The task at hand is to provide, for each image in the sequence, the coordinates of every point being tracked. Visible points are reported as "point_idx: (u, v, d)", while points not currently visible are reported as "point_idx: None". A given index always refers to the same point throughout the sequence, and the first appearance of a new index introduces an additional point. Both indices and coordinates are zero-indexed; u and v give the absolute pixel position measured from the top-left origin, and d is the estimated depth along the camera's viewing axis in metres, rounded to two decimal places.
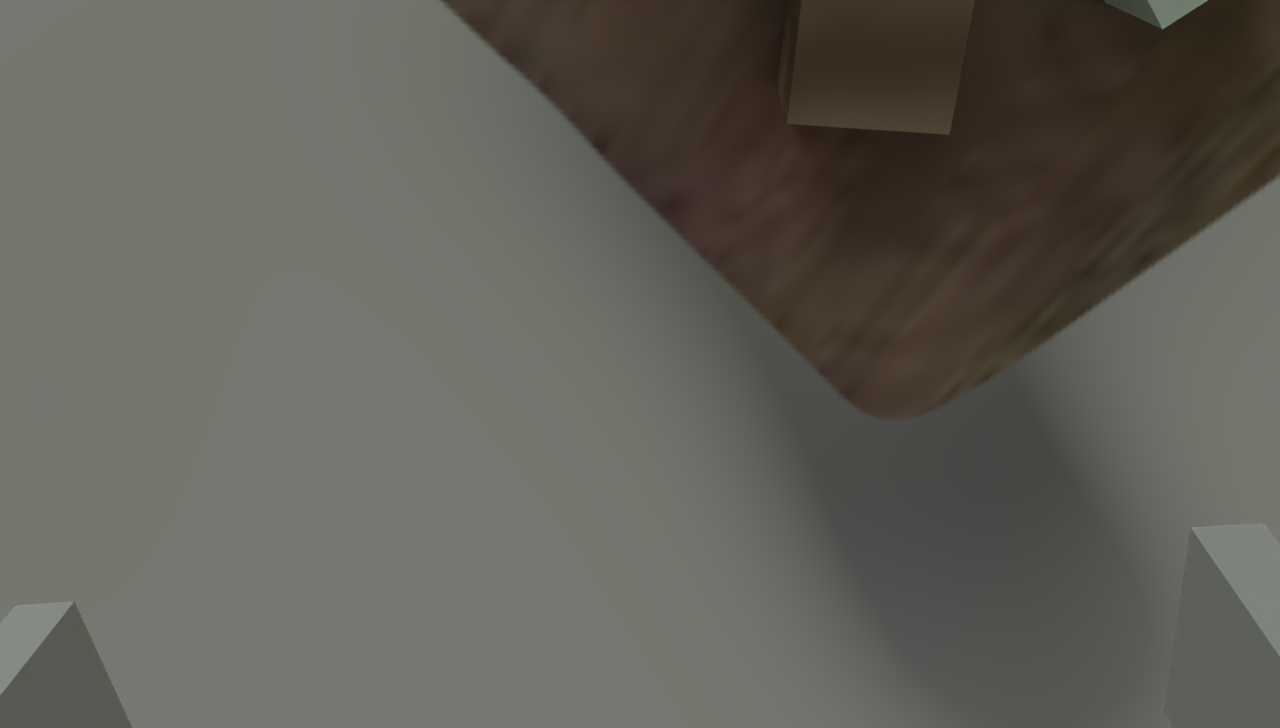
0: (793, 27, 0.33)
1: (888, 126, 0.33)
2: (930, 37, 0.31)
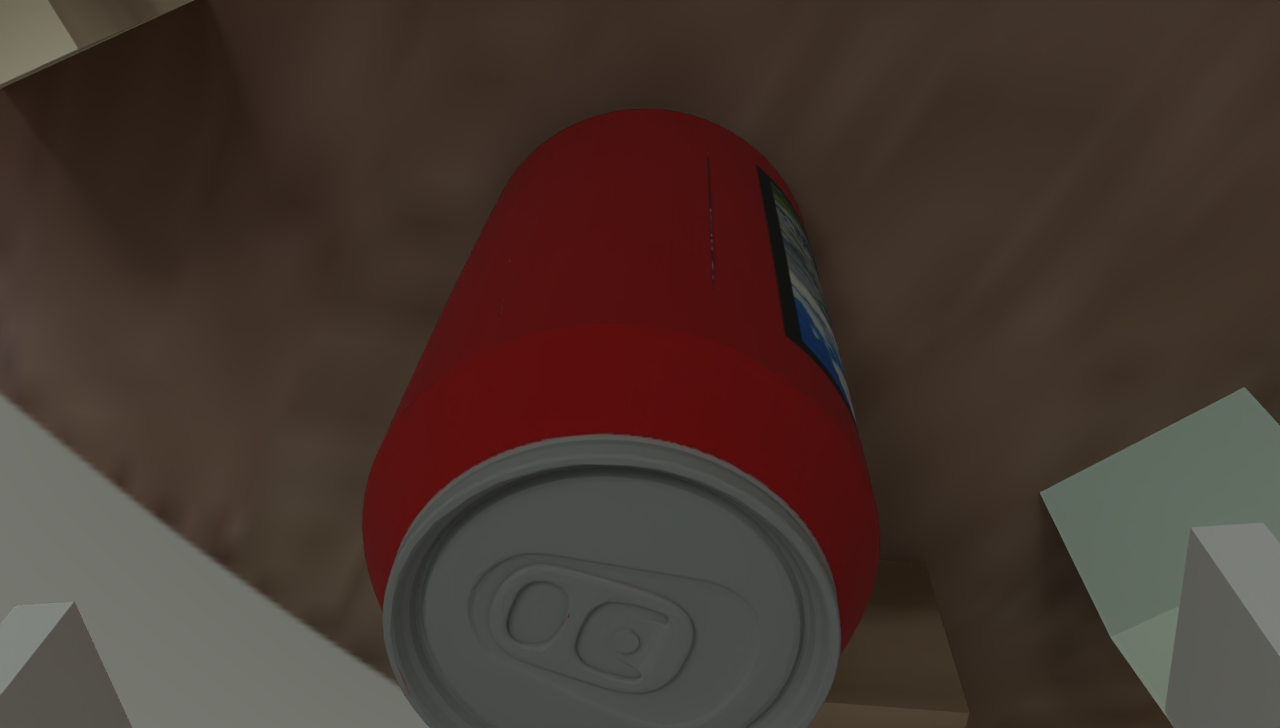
0: None
1: None
2: None
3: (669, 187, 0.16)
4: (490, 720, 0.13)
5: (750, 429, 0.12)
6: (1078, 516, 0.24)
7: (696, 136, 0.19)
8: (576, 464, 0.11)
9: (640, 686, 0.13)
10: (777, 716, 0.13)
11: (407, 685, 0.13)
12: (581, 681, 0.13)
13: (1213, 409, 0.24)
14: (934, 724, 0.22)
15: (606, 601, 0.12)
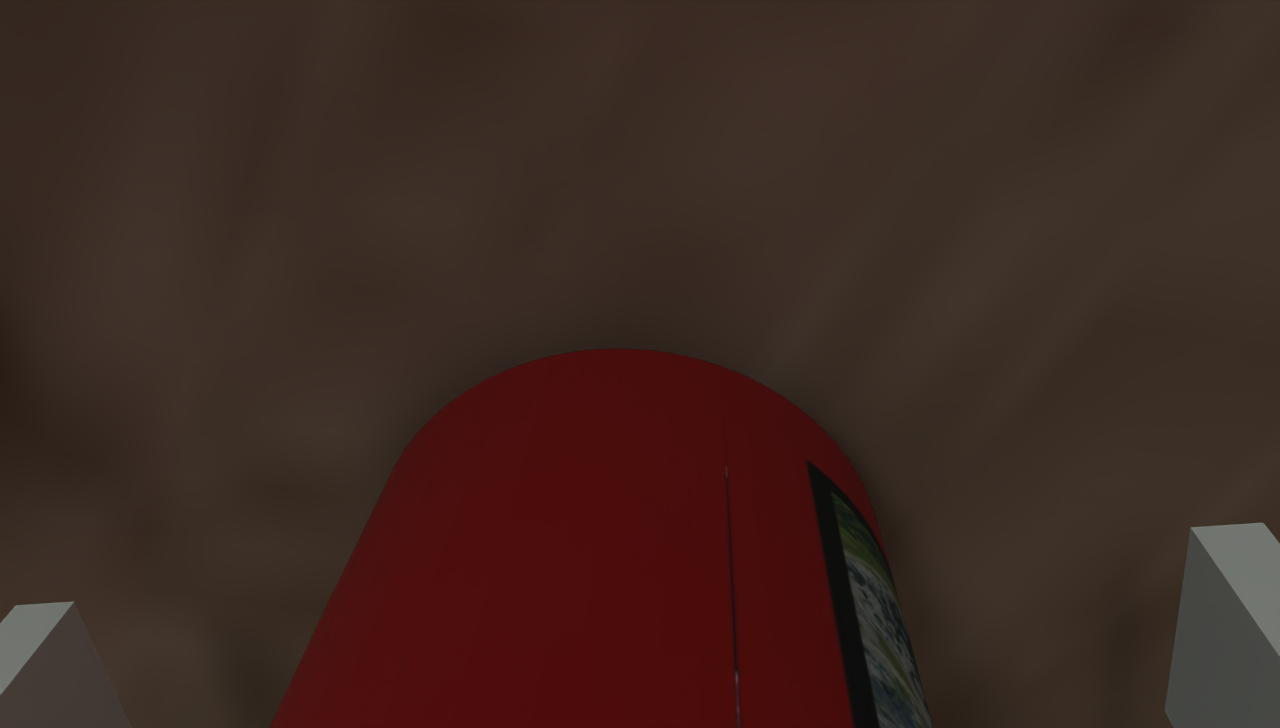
0: None
1: None
2: None
3: (653, 612, 0.08)
4: None
5: None
6: None
7: (706, 420, 0.11)
8: None
9: None
10: None
11: None
12: None
13: None
14: None
15: None
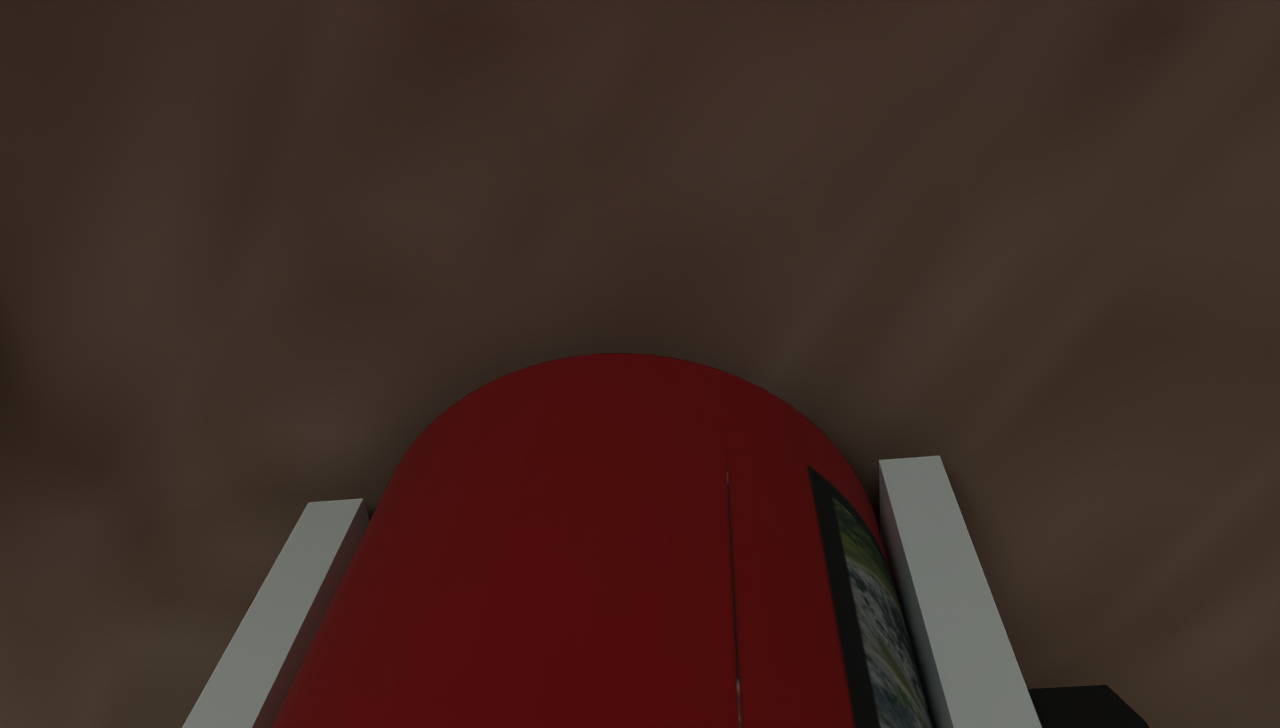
0: None
1: None
2: None
3: (653, 620, 0.08)
4: None
5: None
6: None
7: (706, 426, 0.11)
8: None
9: None
10: None
11: None
12: None
13: None
14: None
15: None
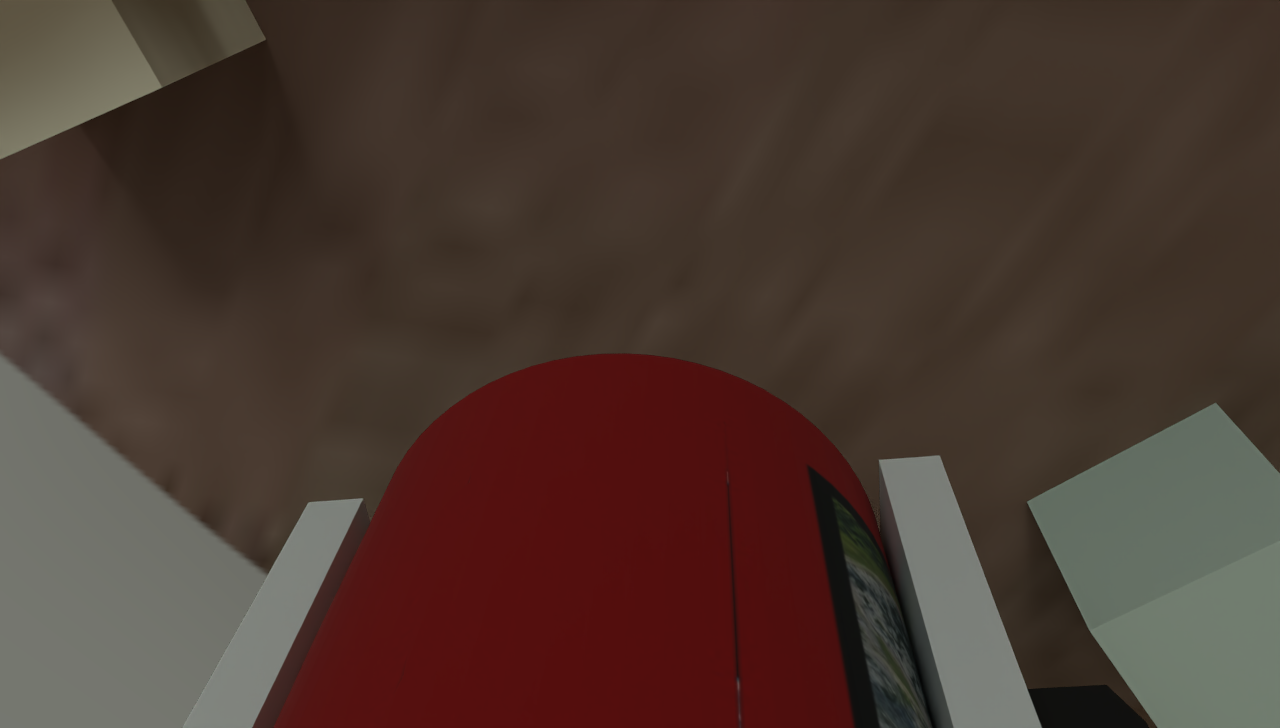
0: None
1: None
2: None
3: (655, 619, 0.08)
4: None
5: None
6: (1061, 522, 0.26)
7: (707, 426, 0.11)
8: None
9: None
10: None
11: None
12: None
13: (1186, 423, 0.26)
14: None
15: None
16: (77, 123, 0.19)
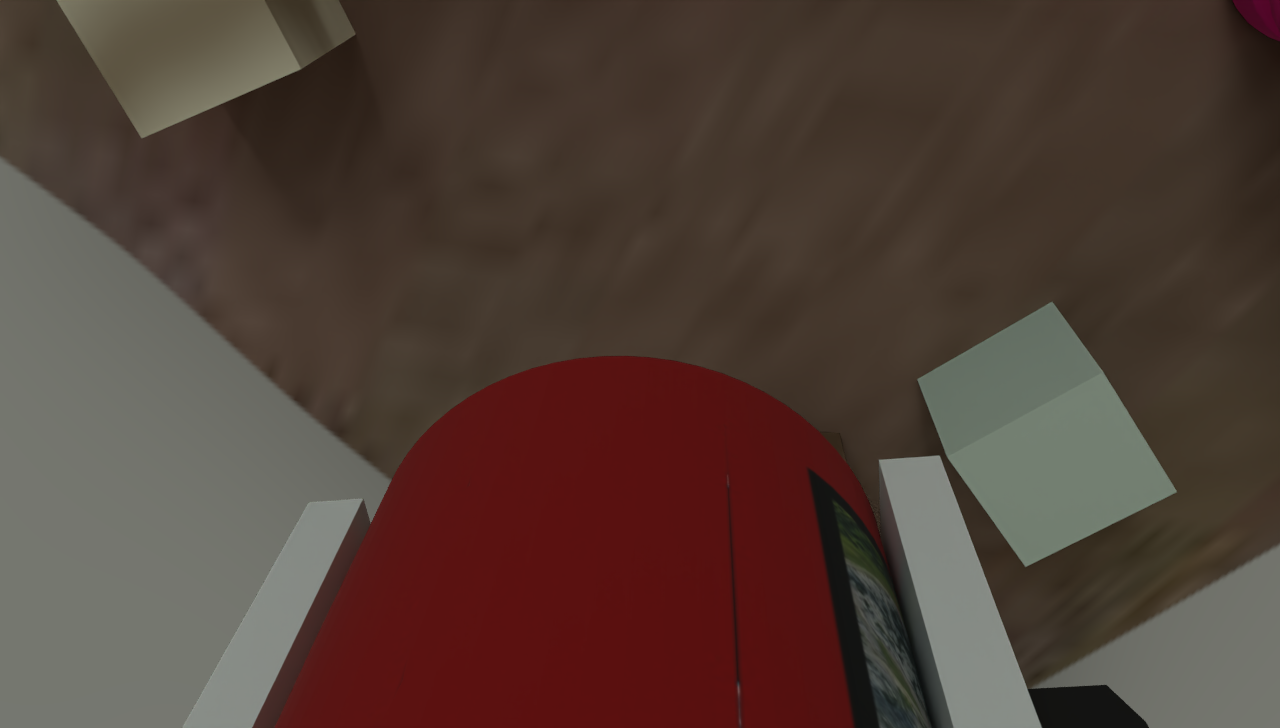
0: None
1: None
2: None
3: (655, 622, 0.08)
4: None
5: None
6: (938, 390, 0.35)
7: (707, 429, 0.11)
8: None
9: None
10: None
11: None
12: None
13: (1031, 317, 0.35)
14: None
15: None
16: (241, 93, 0.28)
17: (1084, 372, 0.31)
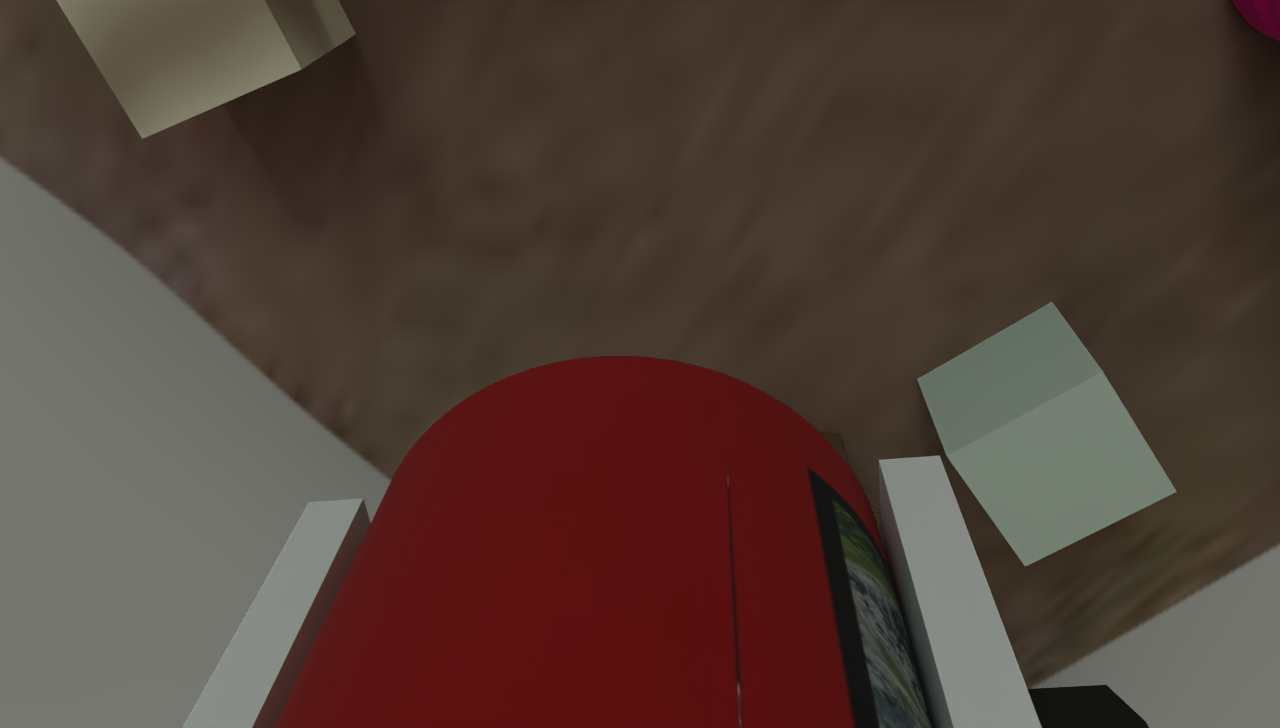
0: None
1: None
2: None
3: (655, 623, 0.08)
4: None
5: None
6: (938, 390, 0.35)
7: (707, 429, 0.11)
8: None
9: None
10: None
11: None
12: None
13: (1031, 317, 0.35)
14: None
15: None
16: (242, 94, 0.28)
17: (1084, 371, 0.31)
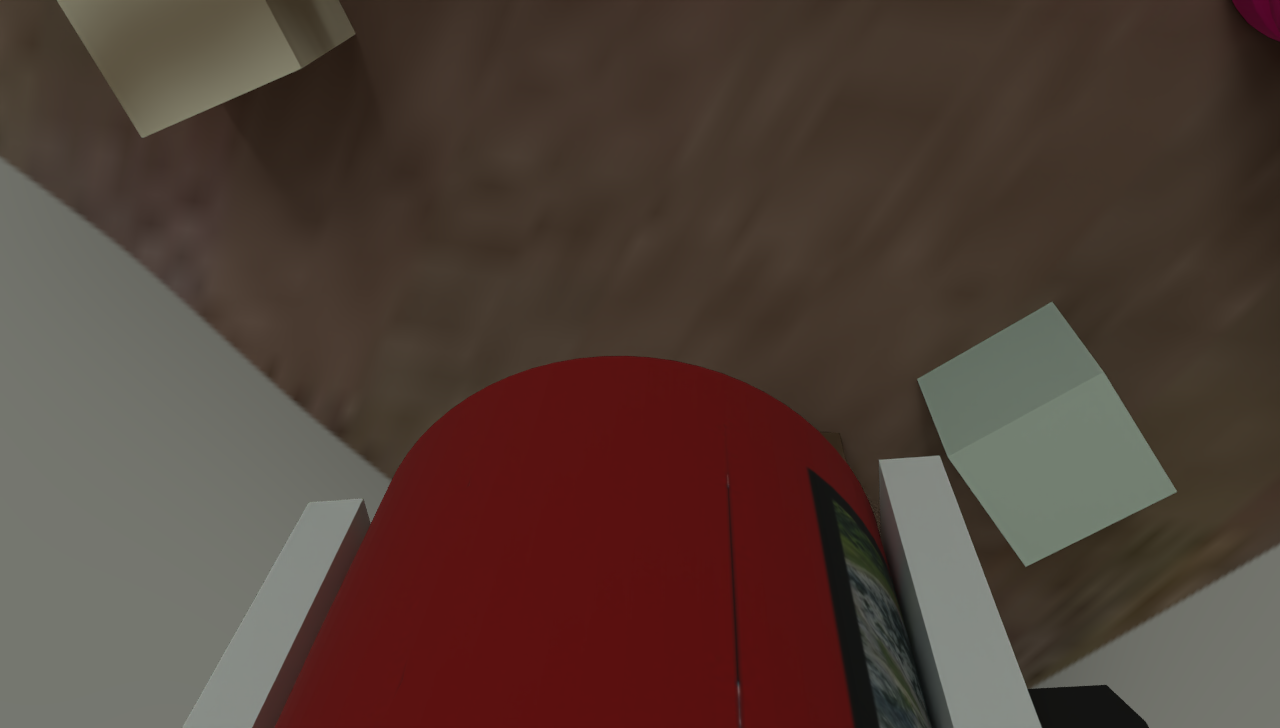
0: None
1: None
2: None
3: (655, 623, 0.08)
4: None
5: None
6: (939, 390, 0.35)
7: (707, 429, 0.11)
8: None
9: None
10: None
11: None
12: None
13: (1031, 317, 0.35)
14: None
15: None
16: (242, 93, 0.28)
17: (1085, 372, 0.31)
